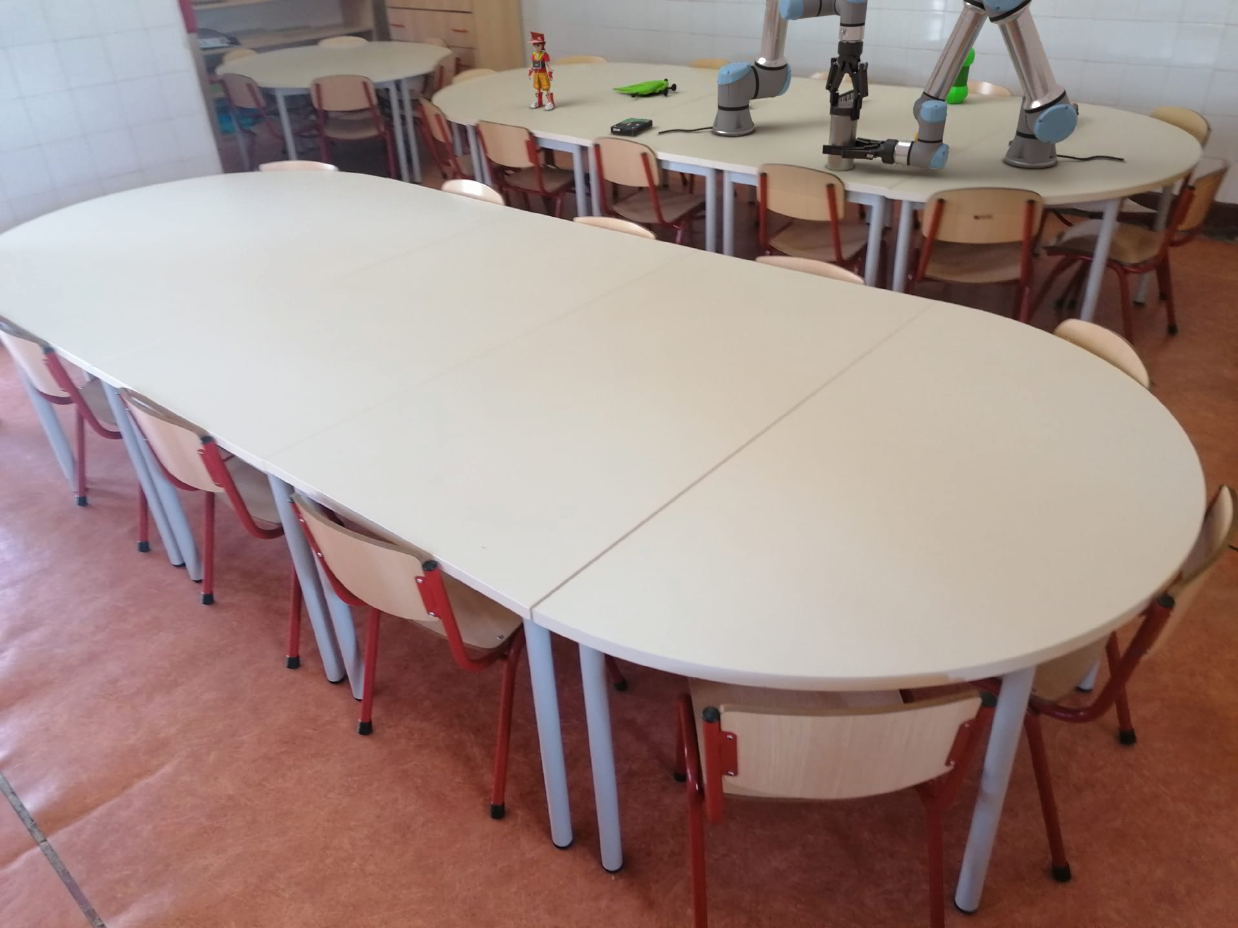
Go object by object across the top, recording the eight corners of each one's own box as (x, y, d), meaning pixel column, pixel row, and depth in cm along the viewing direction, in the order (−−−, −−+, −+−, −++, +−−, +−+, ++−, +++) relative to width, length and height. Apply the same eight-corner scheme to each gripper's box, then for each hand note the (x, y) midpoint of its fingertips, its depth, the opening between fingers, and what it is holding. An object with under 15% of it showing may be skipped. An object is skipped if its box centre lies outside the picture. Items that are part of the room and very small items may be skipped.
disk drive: (633, 137, 337) (653, 126, 347) (633, 129, 336) (652, 119, 346) (610, 134, 342) (630, 124, 352) (609, 127, 340) (630, 117, 350)
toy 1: (525, 109, 381) (517, 32, 364) (534, 104, 388) (527, 28, 371) (550, 110, 377) (543, 32, 360) (559, 105, 384) (553, 28, 367)
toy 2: (686, 85, 398) (631, 84, 414) (685, 72, 395) (629, 72, 411) (651, 104, 381) (596, 103, 397) (650, 92, 378) (594, 91, 394)
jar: (858, 166, 295) (864, 105, 284) (843, 172, 290) (848, 111, 279) (836, 161, 300) (841, 102, 289) (821, 167, 295) (826, 107, 284)
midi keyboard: (835, 110, 353) (837, 97, 350) (833, 110, 354) (834, 97, 351) (858, 101, 363) (859, 88, 361) (855, 101, 364) (856, 88, 361)
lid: (853, 107, 289) (853, 100, 288) (864, 114, 282) (864, 106, 280) (825, 110, 288) (826, 102, 287) (836, 117, 281) (836, 109, 279)
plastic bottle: (973, 101, 354) (984, 32, 339) (955, 106, 349) (966, 36, 335) (952, 97, 361) (962, 29, 346) (934, 102, 356) (944, 33, 342)
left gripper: (817, 38, 279) (811, 113, 292) (868, 46, 264) (860, 125, 277) (834, 34, 282) (829, 109, 295) (886, 43, 267) (878, 121, 280)
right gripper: (885, 173, 278) (815, 166, 288) (904, 155, 293) (837, 148, 303) (888, 149, 274) (817, 142, 284) (907, 131, 288) (839, 125, 298)
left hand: (844, 117), depth 286 cm, fingers closed on lid, 9 cm apart
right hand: (827, 145), depth 293 cm, fingers closed on jar, 8 cm apart
